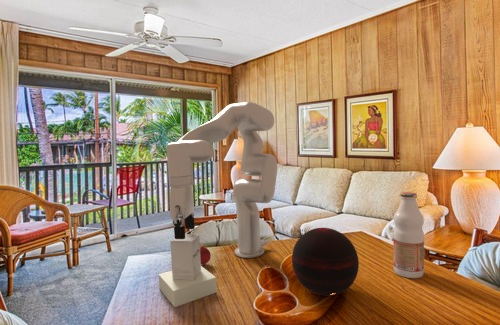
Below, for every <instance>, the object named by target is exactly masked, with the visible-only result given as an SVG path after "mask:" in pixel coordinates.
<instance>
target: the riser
mask: <svg viewBox="0 0 500 325" xmlns="http://www.w3.org/2000/svg"><path fill="white" fill-rule="evenodd" d="M158 286H159V290H160V292H161V293H162V294H163V295H164V296H165V297H166V299H167V301H168V302H170V304H171V305H172V306H173V307H174V308H177V307H180V306H182V305H184V304H188V303H191V302H193V301H196V300H199V299H202V298H205V297H208V296H211V295H213V294H216V293H217V291H218V289H217V277H216V276H215V275H214V274H212V273H211V272H210V271H209V270H207V269H206V268H204V267H203V265H201V271H200V272H199V273H198V274H197V276H196V277H195V279H194V280H178V279H172V270H170V271H166V272H162V273H158Z"/></svg>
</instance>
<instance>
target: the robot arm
mask: <svg viewBox="0 0 500 325" xmlns="http://www.w3.org/2000/svg"><path fill="white" fill-rule="evenodd" d="M274 125H275V116H274V114H273V113H272V111H271V110H270V109H268V108H266V107H264V106H262V105H260V104H257V103H256V102H252V101H243V102H236V103H230V104H228V105H226V106H225V107H224V108H223V109H222V110H221V111H220V112H219V113H217V115H216V116H214V117H213V118H212V119H211V120H210V121H207V122H206V123H203V124H201V125H199V126H198V127H196V128H193V129H191V130H189V131H188V132H187V133H185V134H184V135H183V136H182V137H180V139H179V140H178V141H175V142H173V141H172V142H169V143H168V144H167V145H166V160H167V171H168V184H169V212H170V214H169V215H170V219H172V226H173V232H174V233H173V234H174V238H175V239H185V234H186V230H194V229H195V226H196V225H195V213H194V211H195V201H194V194H193V186H194V184H195V182H194V172H193V171H194V169H193V164H194V163H196V164H201V163H202V164H203V163H206V162H209V161H210V160H212V158H213V156H214V155H215V149H214V146H213V145H212V144H215V143H218V142H220V141H223V140H226V139H227V138H228V137H229V136H230V135H231V134H232V133H233V132H234V131H235V130H236V129H238V131H239V133H240V135H241V138H242V142H243V147H242V154H241V160H240V172H241V173H242V175H245V176H248V177H260V178H259V179H256V178H241V179H238V180H237V181H235V182H234V184H233V187H232V191H233V198H234V202H235V208H236V226H237V246H238V247H236V248H235V249H234V254H235V255H236V256H237V257H239V258H245V259H250V258H258V257H260V256H262V255H263V254H264V253H265V248H264V246H267V245H269V244H270V240H269V239H265V240H264V239H261V226H260V225H261V223H260V222H261V221H260V210H259V207H258V205H257V204H270V203H271V202H272V201H273V199H274V196H275V190H276V185H277V184H276V183H277V176H278V161H277V158H276V157H275V156H274V155H273V154H270V153H263V152H264V151H263V150H264V141H263V139H262V138H261V136H260V135H259V133H258V132H266V131H270V130H271V129H272V128H274Z"/></svg>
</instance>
